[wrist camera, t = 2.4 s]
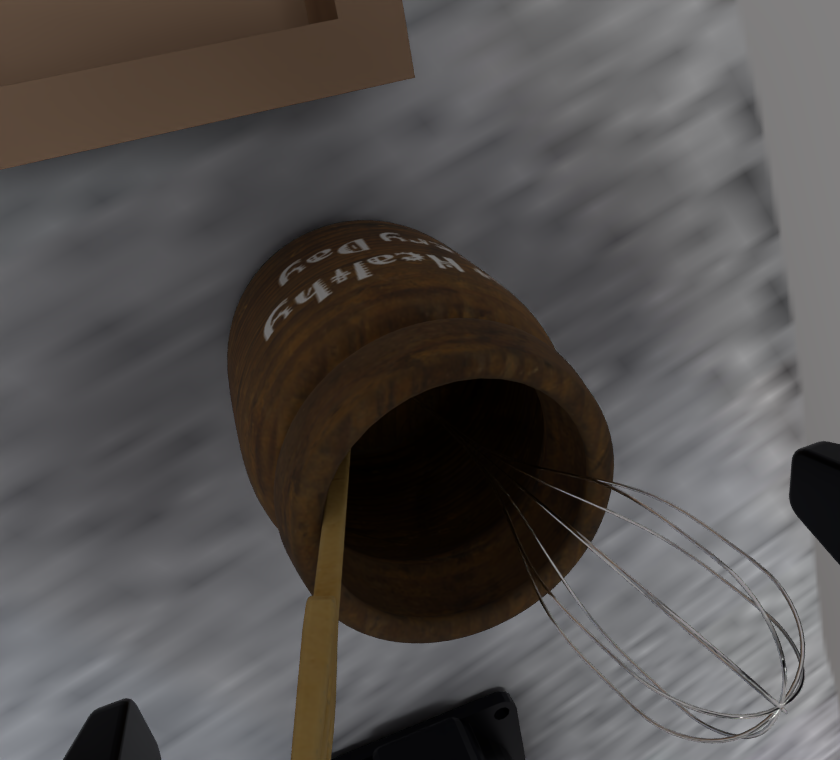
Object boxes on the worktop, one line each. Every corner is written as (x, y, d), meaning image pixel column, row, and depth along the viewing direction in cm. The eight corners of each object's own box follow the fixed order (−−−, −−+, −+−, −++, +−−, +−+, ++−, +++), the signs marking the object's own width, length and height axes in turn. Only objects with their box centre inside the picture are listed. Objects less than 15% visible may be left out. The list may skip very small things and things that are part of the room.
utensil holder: (468, 441, 18) (851, 941, 8) (216, 469, 17) (293, 1165, 6) (488, 210, 16) (1066, 499, 6) (196, 213, 14) (266, 652, 4)
